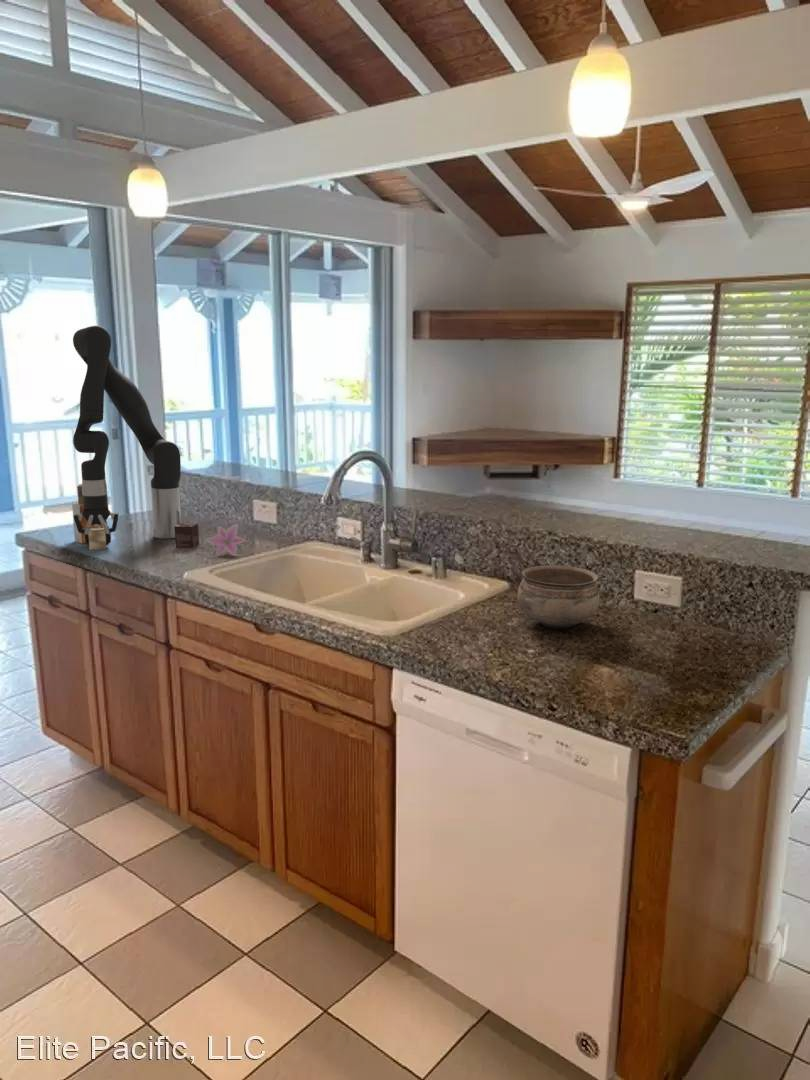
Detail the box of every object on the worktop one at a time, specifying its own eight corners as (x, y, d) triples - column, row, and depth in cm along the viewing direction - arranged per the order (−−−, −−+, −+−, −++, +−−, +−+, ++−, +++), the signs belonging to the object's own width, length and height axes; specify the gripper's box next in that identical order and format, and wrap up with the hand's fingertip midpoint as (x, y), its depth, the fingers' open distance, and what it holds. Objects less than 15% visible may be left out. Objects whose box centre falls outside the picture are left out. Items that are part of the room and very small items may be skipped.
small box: (82, 544, 266) (79, 505, 263) (74, 541, 270) (71, 502, 267) (105, 540, 271) (103, 502, 268) (98, 537, 276) (95, 500, 273)
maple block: (107, 545, 264) (106, 527, 263) (106, 549, 260) (104, 530, 258) (91, 546, 263) (90, 528, 262) (89, 549, 258) (88, 531, 257)
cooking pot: (551, 605, 205) (554, 558, 202) (619, 621, 192) (622, 572, 189) (492, 627, 187) (494, 576, 184) (562, 647, 174) (565, 593, 172)
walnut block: (96, 501, 271) (95, 483, 270) (94, 504, 266) (93, 486, 265) (80, 501, 270) (79, 484, 268) (78, 504, 265) (77, 486, 264)
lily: (203, 556, 256) (202, 535, 250) (223, 537, 264) (223, 517, 258) (231, 569, 253) (231, 549, 247) (251, 550, 261) (251, 530, 255)
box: (199, 544, 268) (198, 523, 266) (193, 548, 262) (192, 526, 260) (182, 544, 268) (181, 522, 267) (175, 548, 262) (174, 526, 261)
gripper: (119, 490, 263) (122, 541, 266) (72, 491, 259) (76, 543, 263) (117, 494, 256) (120, 546, 259) (69, 495, 252) (73, 548, 256)
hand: (98, 544), depth 261 cm, fingers closed on maple block, 5 cm apart
